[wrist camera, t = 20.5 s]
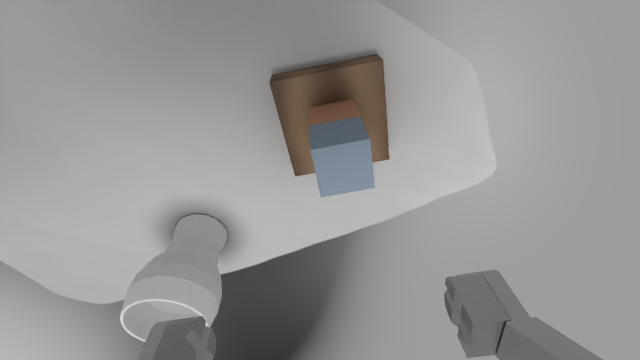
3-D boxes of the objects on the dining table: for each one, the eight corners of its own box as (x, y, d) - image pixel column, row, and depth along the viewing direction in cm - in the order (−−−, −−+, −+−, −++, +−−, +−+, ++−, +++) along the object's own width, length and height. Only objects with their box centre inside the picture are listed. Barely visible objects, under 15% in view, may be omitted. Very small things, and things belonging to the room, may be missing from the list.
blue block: (318, 169, 32) (321, 197, 28) (309, 126, 29) (310, 150, 25) (365, 160, 31) (374, 187, 27) (360, 116, 29) (370, 138, 24)
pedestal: (295, 164, 40) (295, 176, 38) (272, 75, 34) (269, 82, 31) (383, 148, 40) (389, 159, 37) (376, 54, 33) (382, 59, 31)
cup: (249, 226, 46) (229, 316, 34) (217, 265, 51) (189, 357, 38) (183, 194, 42) (133, 283, 30) (155, 239, 47) (101, 332, 34)
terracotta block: (317, 146, 36) (319, 168, 32) (308, 107, 33) (309, 125, 29) (358, 139, 36) (365, 160, 31) (353, 98, 33) (361, 115, 29)
